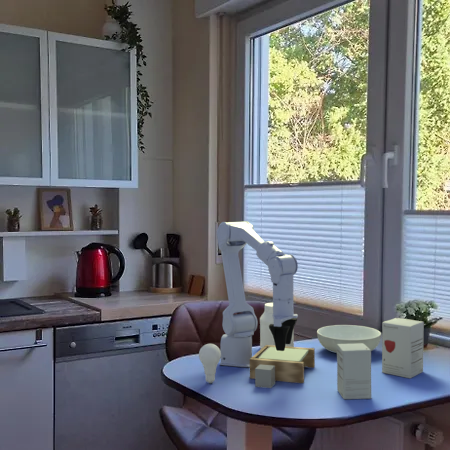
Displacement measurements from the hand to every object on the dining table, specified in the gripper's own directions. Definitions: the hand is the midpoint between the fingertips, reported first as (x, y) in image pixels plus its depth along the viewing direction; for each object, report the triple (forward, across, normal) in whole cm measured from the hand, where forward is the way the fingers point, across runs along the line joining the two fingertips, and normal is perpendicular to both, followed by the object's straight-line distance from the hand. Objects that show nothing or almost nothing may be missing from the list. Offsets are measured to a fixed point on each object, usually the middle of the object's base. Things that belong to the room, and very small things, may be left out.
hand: (283, 347), depth 164 cm
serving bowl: (+10, +37, -14) cm, 41 cm away
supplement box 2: (+10, +18, -31) cm, 37 cm away
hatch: (+5, +8, +2) cm, 10 cm away
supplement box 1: (+10, -6, -20) cm, 23 cm away
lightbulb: (+10, -8, +19) cm, 23 cm away
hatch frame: (+10, +8, +2) cm, 13 cm away
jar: (+10, +35, +10) cm, 38 cm away
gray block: (+10, -5, +4) cm, 12 cm away
